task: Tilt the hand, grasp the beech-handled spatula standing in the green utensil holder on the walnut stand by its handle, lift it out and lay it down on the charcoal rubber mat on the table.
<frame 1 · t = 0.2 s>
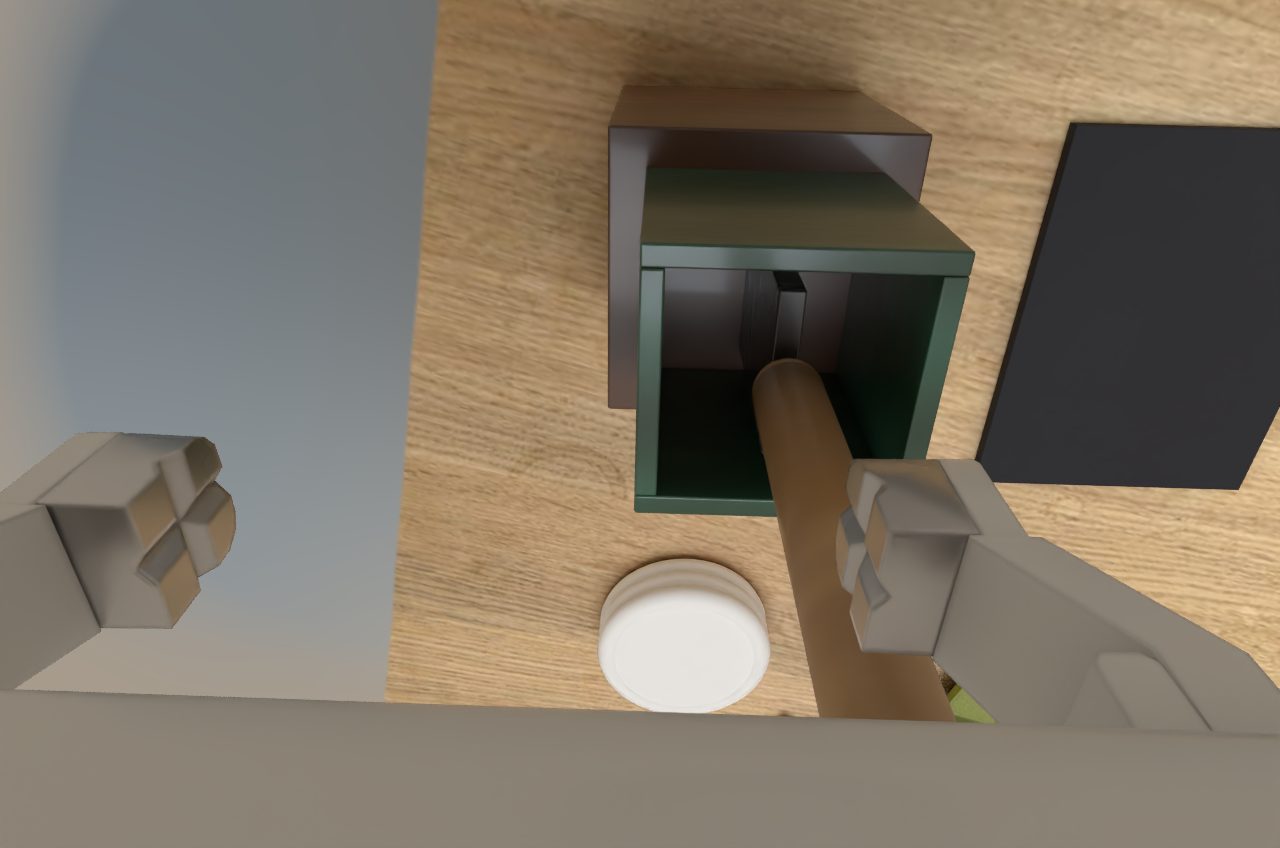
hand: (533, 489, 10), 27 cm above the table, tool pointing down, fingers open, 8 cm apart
green square dish: (1004, 683, 50), on the table
white round tub: (682, 615, 48), on the table
mat: (1160, 324, 37), on the table
spatula: (755, 285, 26), point 10 cm above the table, touching open box
open box: (731, 208, 35), on the table
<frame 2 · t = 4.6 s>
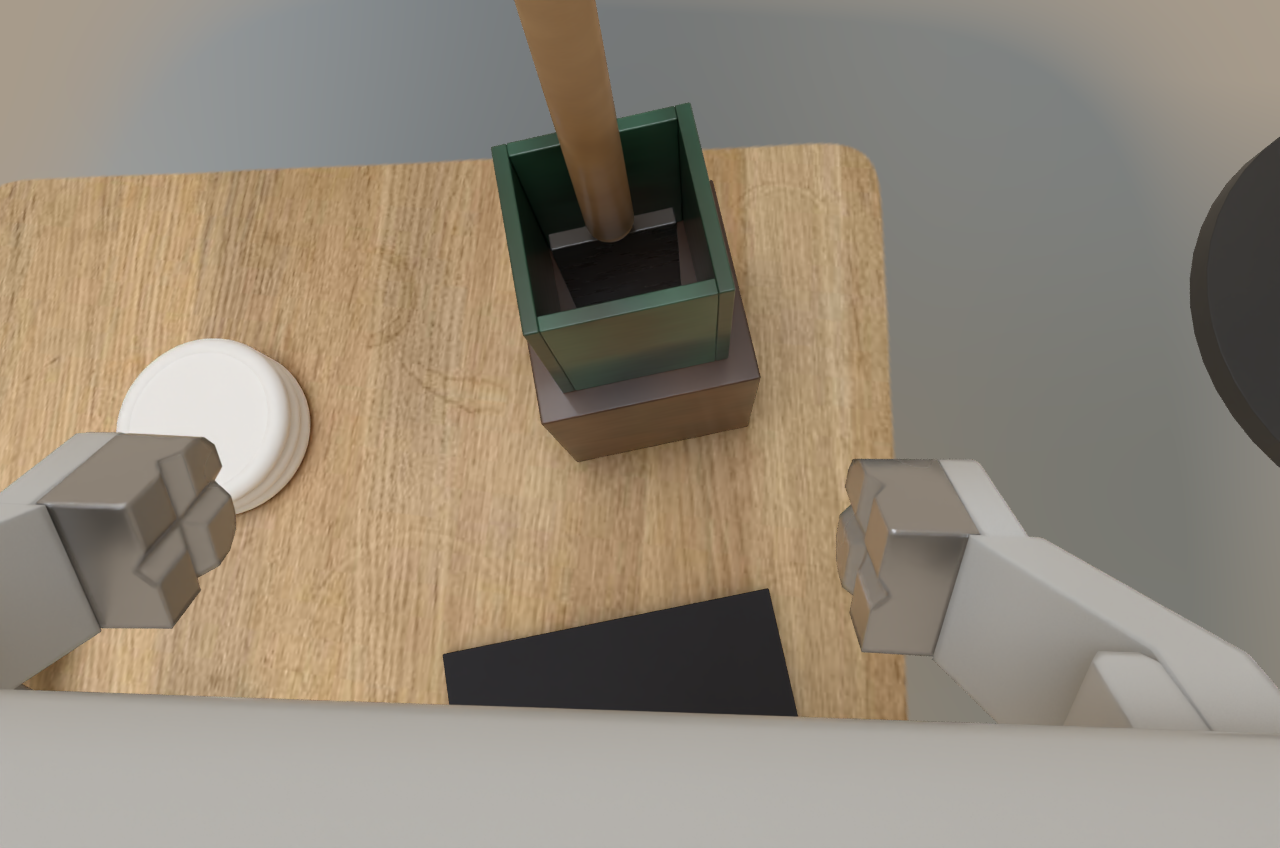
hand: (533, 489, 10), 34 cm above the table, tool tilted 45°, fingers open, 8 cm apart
white round tub: (235, 434, 47), on the table
mat: (629, 756, 41), on the table
spatula: (629, 298, 36), point 10 cm above the table, touching open box
open box: (645, 362, 45), on the table
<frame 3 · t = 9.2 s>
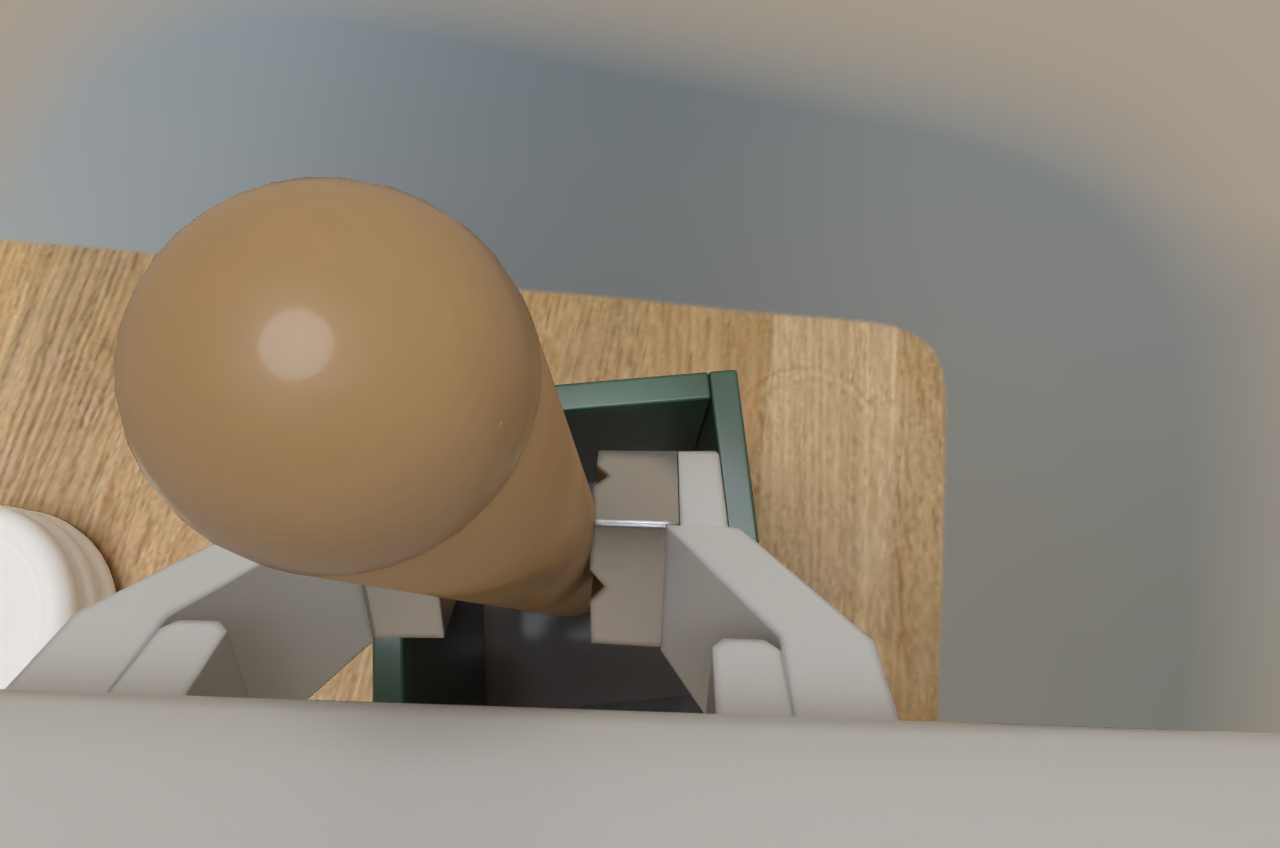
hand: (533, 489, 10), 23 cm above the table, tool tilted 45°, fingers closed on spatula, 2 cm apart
white round tub: (6, 631, 32), on the table
spatula: (591, 589, 23), point 10 cm above the table, touching gripper, open box
open box: (605, 601, 33), on the table
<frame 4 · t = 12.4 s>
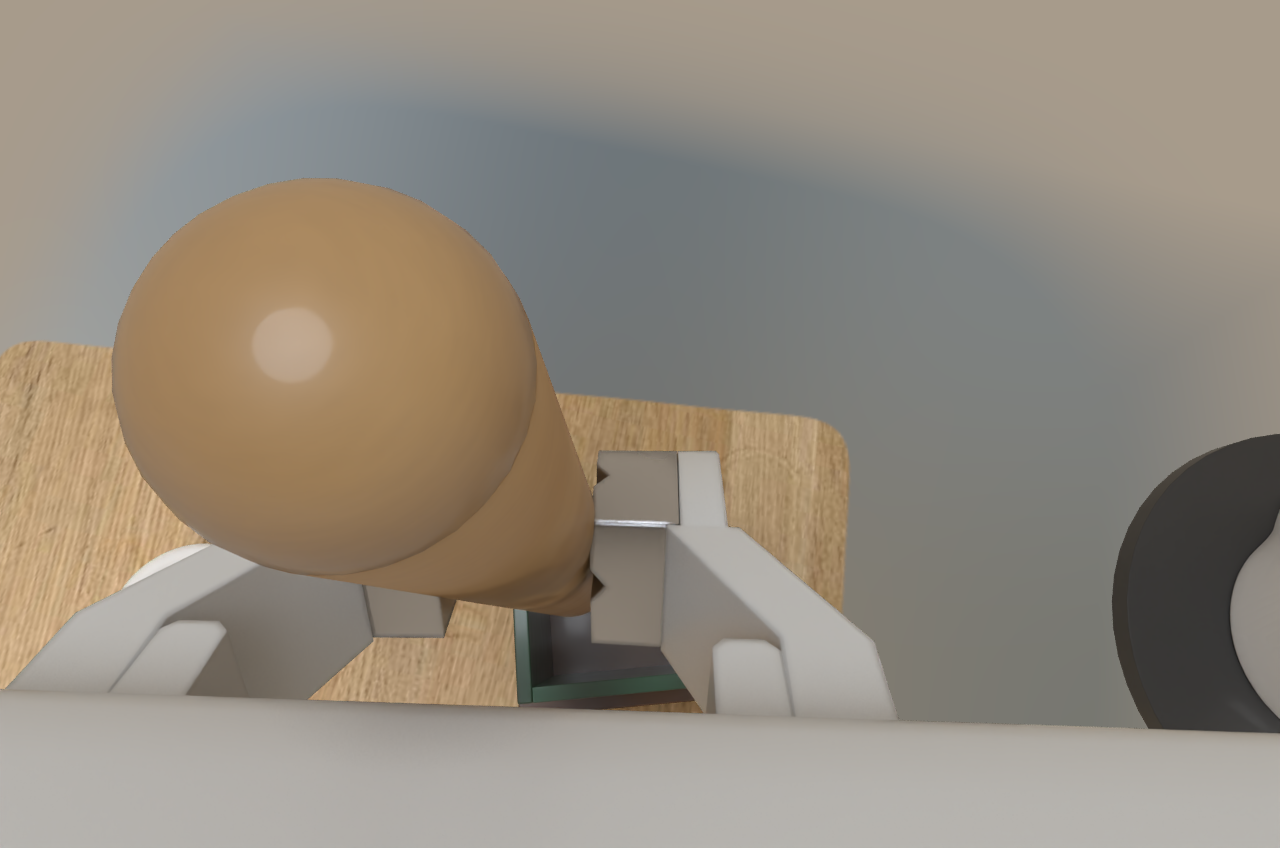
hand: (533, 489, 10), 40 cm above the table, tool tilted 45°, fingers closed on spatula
white round tub: (219, 629, 49), on the table
spatula: (593, 589, 23), point 27 cm above the table, touching gripper
open box: (618, 608, 49), on the table
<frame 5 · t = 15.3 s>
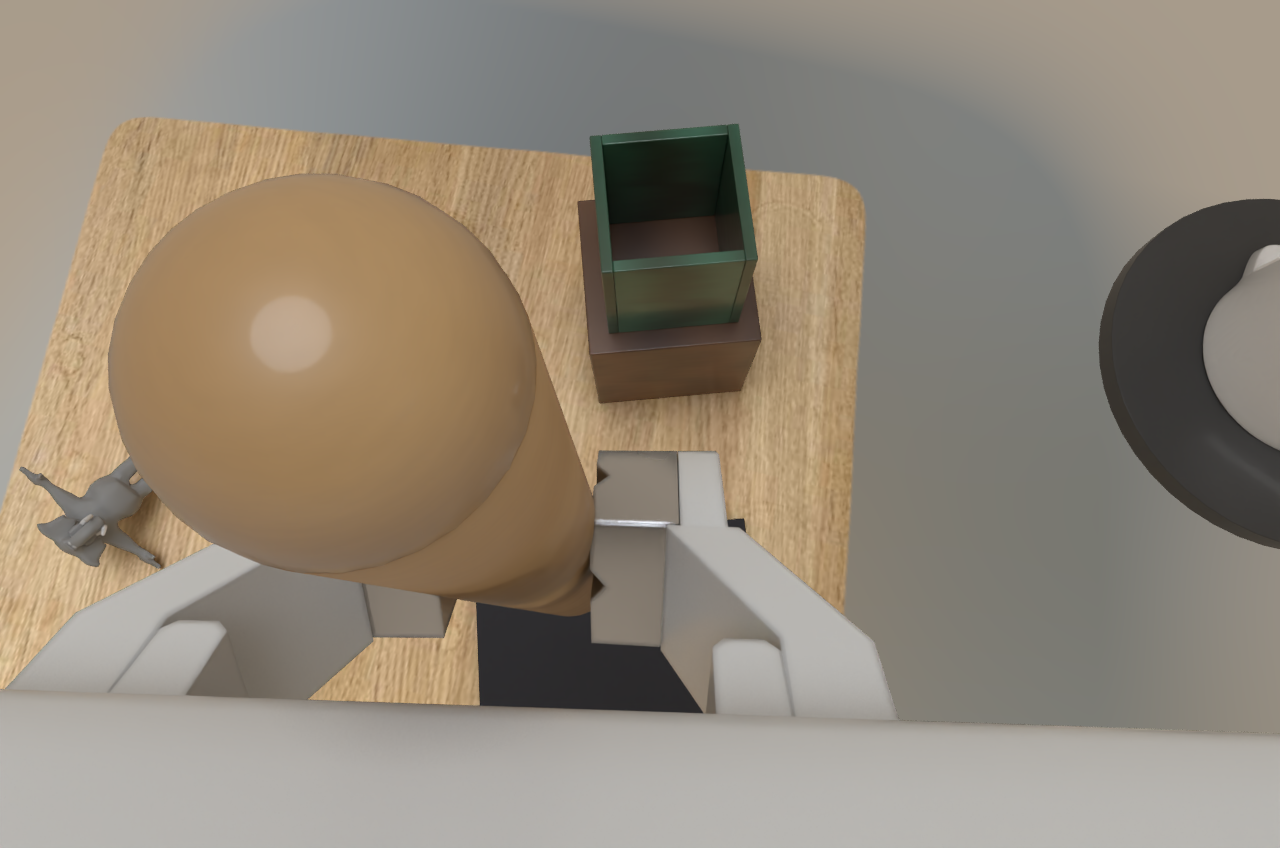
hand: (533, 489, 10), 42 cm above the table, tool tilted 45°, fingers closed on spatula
mat: (618, 639, 50), on the table
elephant figurine: (137, 502, 53), on the table
spatula: (593, 589, 23), point 29 cm above the table, touching gripper
open box: (663, 330, 56), on the table
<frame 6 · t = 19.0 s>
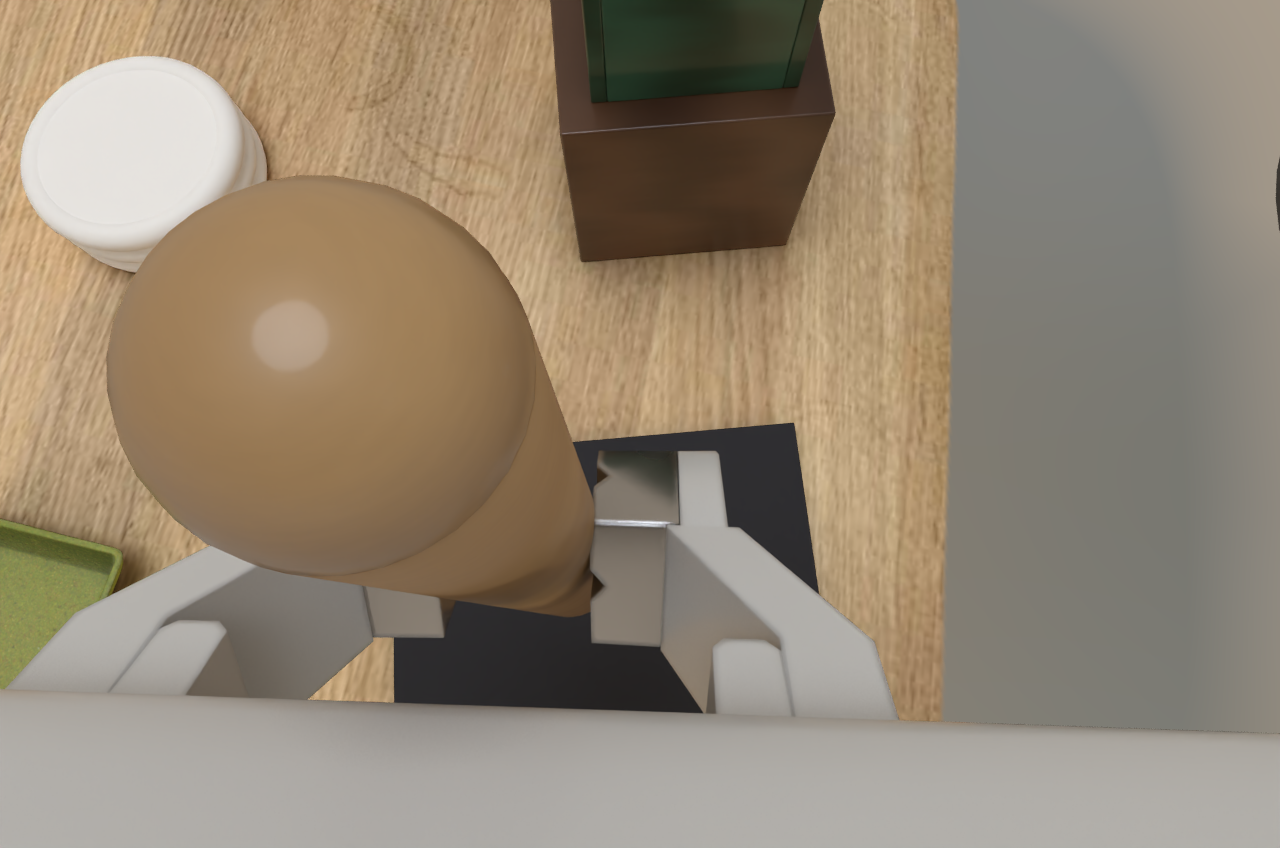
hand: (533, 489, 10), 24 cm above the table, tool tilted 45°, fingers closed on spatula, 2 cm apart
green square dish: (24, 630, 33), on the table
white round tub: (173, 187, 39), on the table
mat: (607, 600, 33), on the table
spatula: (593, 589, 23), point 11 cm above the table, touching gripper
open box: (673, 163, 39), on the table
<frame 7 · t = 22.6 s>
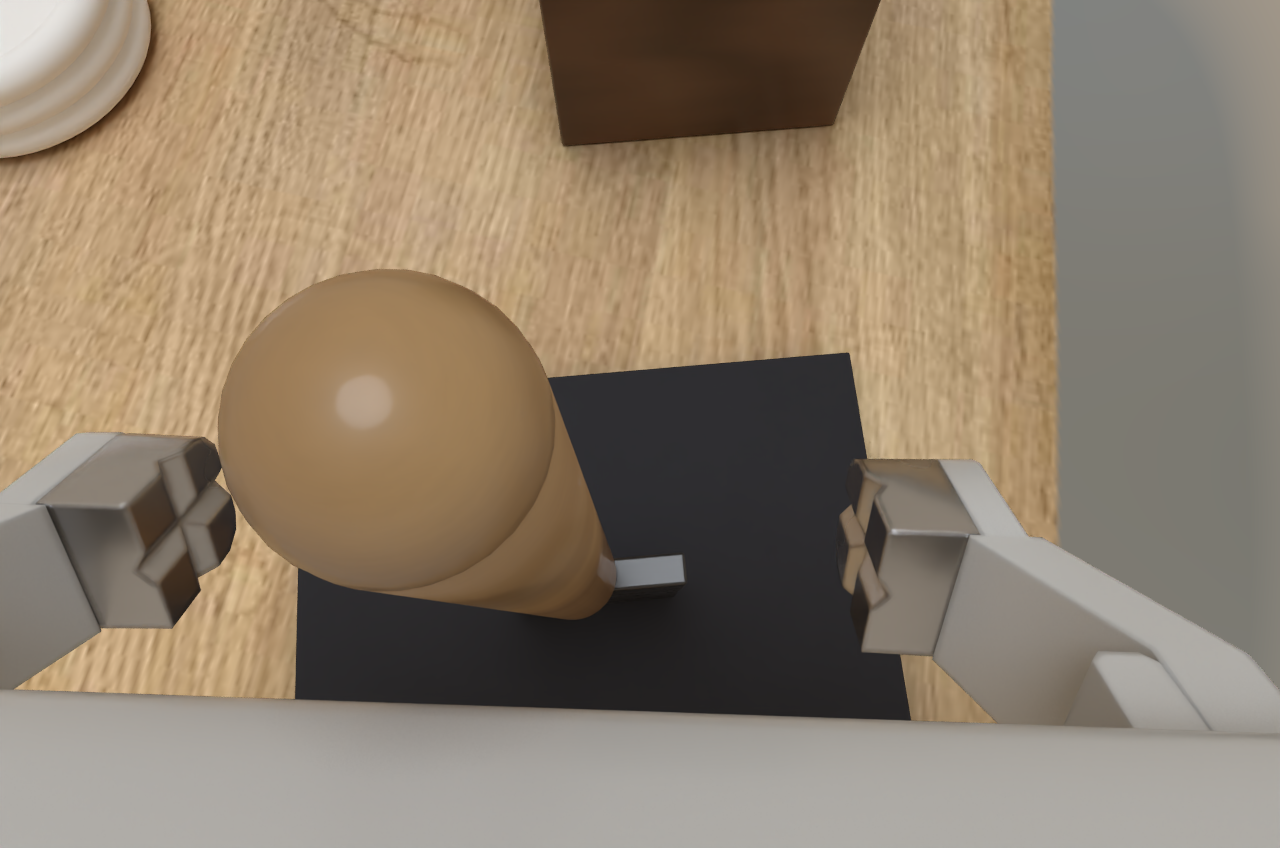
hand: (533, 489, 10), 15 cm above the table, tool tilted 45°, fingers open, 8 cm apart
white round tub: (29, 53, 30), on the table
mat: (594, 593, 24), on the table
spatula: (594, 592, 24), point 1 cm above the table, touching mat
open box: (684, 22, 30), on the table
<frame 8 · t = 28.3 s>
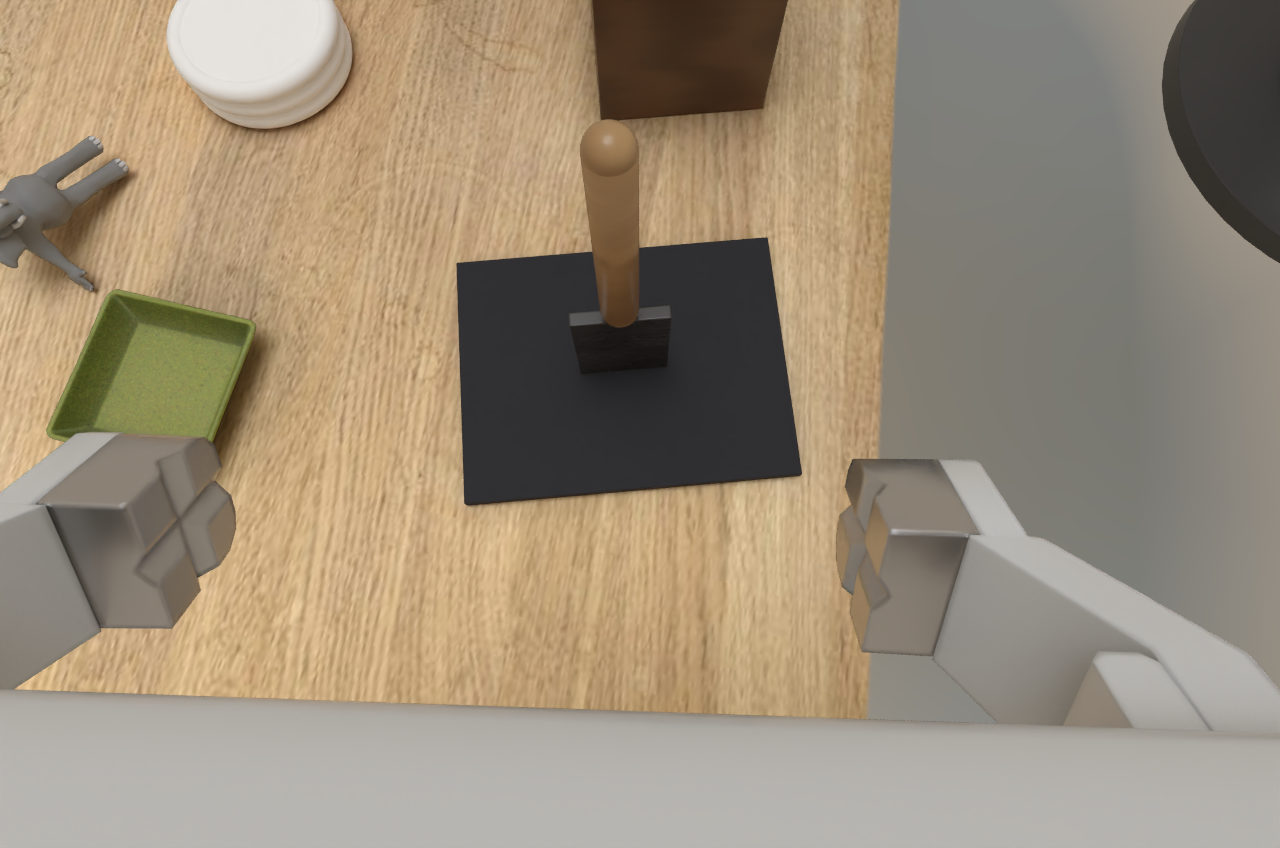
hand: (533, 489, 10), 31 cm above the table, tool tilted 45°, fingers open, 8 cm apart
green square dish: (176, 390, 43), on the table
white round tub: (277, 65, 49), on the table
mat: (623, 367, 44), on the table
elephant figurine: (69, 224, 46), on the table
spatula: (623, 364, 43), point 1 cm above the table, touching mat
open box: (673, 46, 49), on the table
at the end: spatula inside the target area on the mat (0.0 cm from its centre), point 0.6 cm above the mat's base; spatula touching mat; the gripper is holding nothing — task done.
